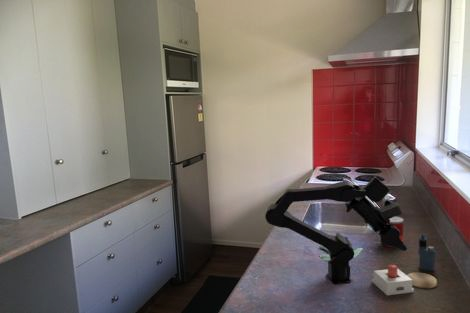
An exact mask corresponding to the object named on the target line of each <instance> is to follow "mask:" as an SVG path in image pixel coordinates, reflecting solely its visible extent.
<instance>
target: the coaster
mask: <svg viewBox="0 0 470 313" xmlns="http://www.w3.org/2000/svg"><path fill="white" fill-rule="evenodd" d="M406 275H407V276H408V277H409V278H411V279H412V287H417V288H420V289H421V288H422V289H433V288H436V287H437V285H438V280H437V279H436V278H435V277H434V276H432V275H431V274H428V273H424V272H420V271H419V272H410V273H408V274H406Z"/></svg>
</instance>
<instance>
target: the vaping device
mask: <svg viewBox="0 0 470 313" xmlns="http://www.w3.org/2000/svg"><path fill="white" fill-rule="evenodd" d="M418 239H419V240H418V255H419V265H418V268H419V269H421V270H425V271H434V270H435V268H436V250H435V247H434V246H432V245H431V246H427V245H428V243H427V240H428V239H427V237H426V236H425V235H423V234H422V235H420V237H419V238H418Z"/></svg>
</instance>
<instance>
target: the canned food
mask: <svg viewBox="0 0 470 313" xmlns="http://www.w3.org/2000/svg"><path fill="white" fill-rule="evenodd" d="M390 224H393V225H394V226H395V227H396V228H397V229H398V230H399V231H400V235H399V238H400V239H401V241H402V242H403V243H404V224H405V223H404V218H402V217H400V216H395V217H393V218H390ZM384 246H386V247H388V248H395V247H392V246H389V245H384Z"/></svg>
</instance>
